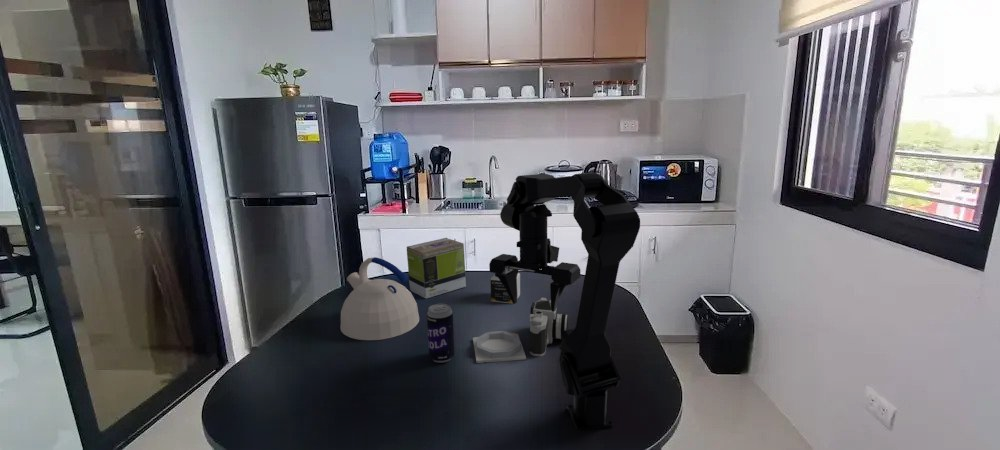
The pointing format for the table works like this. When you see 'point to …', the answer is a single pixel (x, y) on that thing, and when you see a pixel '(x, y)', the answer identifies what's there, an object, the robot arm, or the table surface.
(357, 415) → the table surface
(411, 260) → the tea box
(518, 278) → the medicine bottle
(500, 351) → the mount
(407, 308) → the kettle
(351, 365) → the table surface
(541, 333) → the camera
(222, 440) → the table surface
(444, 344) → the beverage can
